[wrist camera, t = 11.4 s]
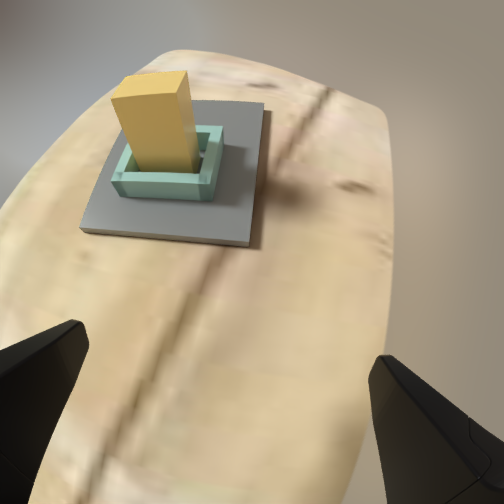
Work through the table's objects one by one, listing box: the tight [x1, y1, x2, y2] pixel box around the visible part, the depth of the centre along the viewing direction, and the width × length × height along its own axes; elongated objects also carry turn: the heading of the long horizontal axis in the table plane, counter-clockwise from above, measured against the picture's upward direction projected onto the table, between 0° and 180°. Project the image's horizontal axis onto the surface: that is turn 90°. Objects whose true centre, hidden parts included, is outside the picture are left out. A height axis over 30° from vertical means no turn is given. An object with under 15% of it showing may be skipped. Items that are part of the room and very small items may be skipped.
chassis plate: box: [79, 100, 264, 247], centre depth 26 cm, size 18×16×4 cm
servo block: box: [111, 71, 201, 174], centre depth 21 cm, size 3×5×10 cm, turn 86°
